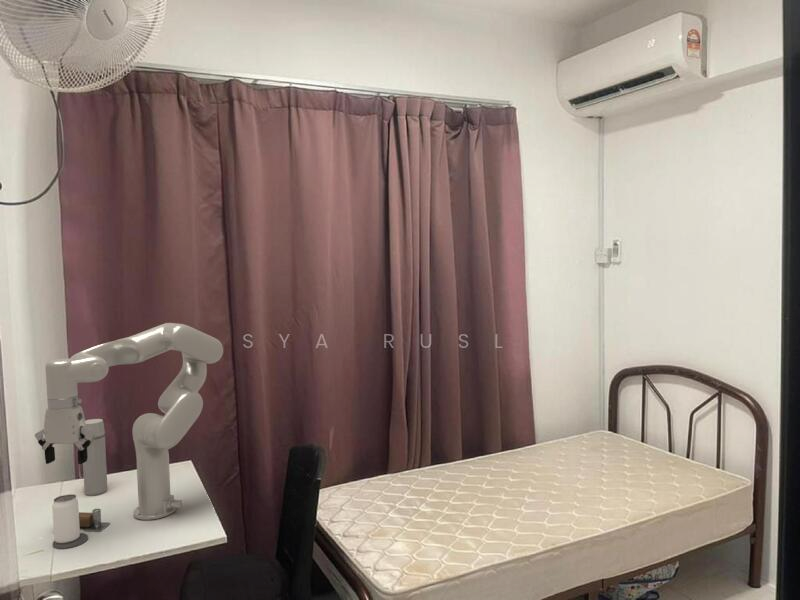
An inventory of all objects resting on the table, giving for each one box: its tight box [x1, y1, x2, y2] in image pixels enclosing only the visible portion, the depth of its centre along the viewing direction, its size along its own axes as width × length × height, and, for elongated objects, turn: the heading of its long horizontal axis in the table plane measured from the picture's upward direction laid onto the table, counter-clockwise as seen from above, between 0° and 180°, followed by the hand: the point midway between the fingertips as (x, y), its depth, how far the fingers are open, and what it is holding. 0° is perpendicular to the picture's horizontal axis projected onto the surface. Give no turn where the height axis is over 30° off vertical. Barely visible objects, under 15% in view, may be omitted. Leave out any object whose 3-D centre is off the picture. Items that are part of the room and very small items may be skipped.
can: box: [51, 493, 81, 544], centre depth 174 cm, size 6×6×12 cm
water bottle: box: [78, 418, 108, 496], centre depth 210 cm, size 9×8×25 cm
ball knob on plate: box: [83, 508, 111, 533], centre depth 182 cm, size 5×5×6 cm
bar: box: [79, 511, 93, 527], centre depth 183 cm, size 4×11×4 cm, turn 83°
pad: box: [52, 532, 89, 550], centre depth 174 cm, size 9×9×1 cm
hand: (66, 462), depth 172 cm, fingers open, 9 cm apart
